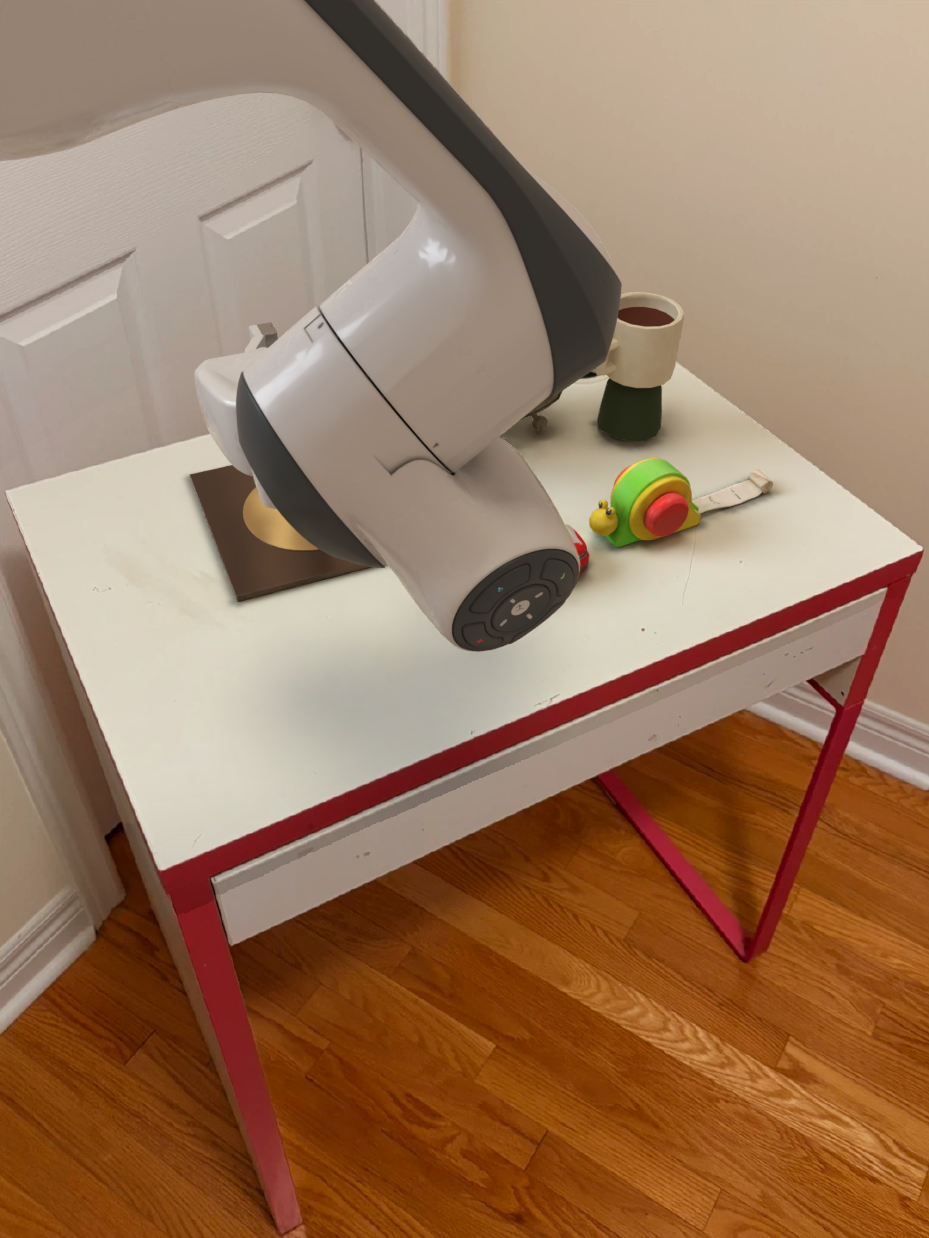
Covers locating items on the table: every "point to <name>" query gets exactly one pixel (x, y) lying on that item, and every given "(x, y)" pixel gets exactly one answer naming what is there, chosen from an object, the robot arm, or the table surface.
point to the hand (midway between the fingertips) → (330, 320)
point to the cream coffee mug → (639, 365)
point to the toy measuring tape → (662, 502)
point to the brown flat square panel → (258, 538)
